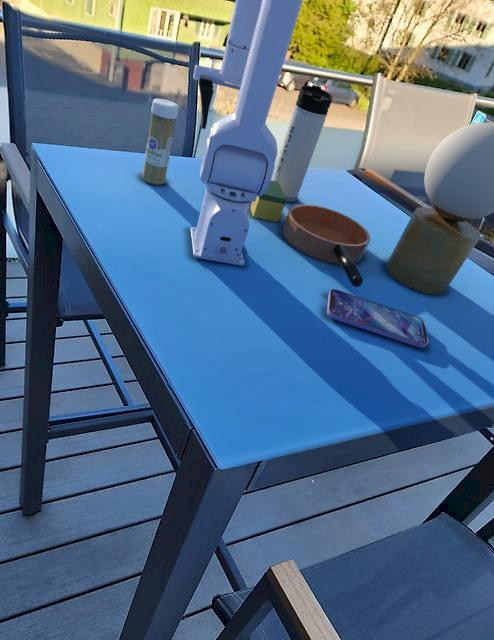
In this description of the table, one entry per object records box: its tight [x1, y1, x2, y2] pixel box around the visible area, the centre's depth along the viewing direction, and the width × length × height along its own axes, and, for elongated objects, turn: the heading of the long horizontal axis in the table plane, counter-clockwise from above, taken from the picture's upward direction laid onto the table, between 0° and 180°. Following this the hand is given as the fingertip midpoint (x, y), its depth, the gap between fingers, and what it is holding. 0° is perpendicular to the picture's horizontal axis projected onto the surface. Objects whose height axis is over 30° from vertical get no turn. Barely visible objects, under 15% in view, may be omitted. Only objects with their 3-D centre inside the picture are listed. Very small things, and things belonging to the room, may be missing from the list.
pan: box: [282, 204, 371, 265], centre depth 88 cm, size 15×15×4 cm
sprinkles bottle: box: [141, 98, 180, 186], centre depth 87 cm, size 5×5×14 cm
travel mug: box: [271, 84, 333, 203], centre depth 95 cm, size 6×7×20 cm
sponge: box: [250, 181, 287, 223], centre depth 92 cm, size 8×5×4 cm, turn 5°
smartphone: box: [326, 288, 429, 349], centre depth 72 cm, size 7×1×15 cm
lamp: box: [385, 122, 494, 296], centre depth 81 cm, size 15×14×25 cm
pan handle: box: [334, 244, 364, 288], centre depth 78 cm, size 12×2×2 cm, turn 5°
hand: (223, 131), depth 91 cm, fingers open, 7 cm apart
